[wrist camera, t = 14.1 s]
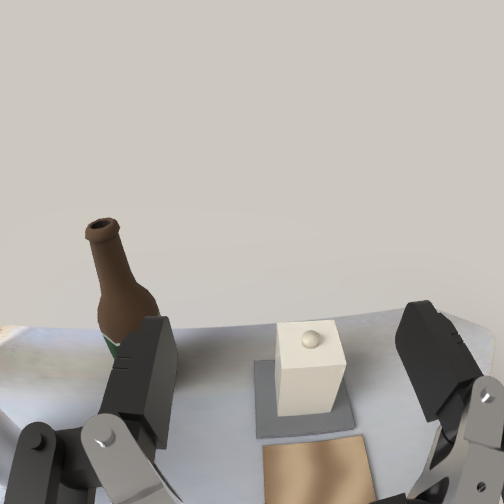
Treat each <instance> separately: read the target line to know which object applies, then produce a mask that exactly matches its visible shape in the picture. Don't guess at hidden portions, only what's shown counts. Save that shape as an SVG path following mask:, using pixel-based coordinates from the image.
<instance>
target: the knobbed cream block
mask: <svg viewBox="0 0 504 504" xmlns="http://www.w3.org/2000/svg"><path fill="white" fill-rule="evenodd" d="M346 364H347V363H346V360H345V356H344V352H343V349H342V345H341V342H340V338H339V335H338V331H337V328H336V325H335V321H334V320H321V321H303V322H282V323H277V335H276V358H275V387H276V400H277V414H278V417H279V416H295V415H308V414H318V413H328V412H331V409H332V406H333V403H334V401H335V398H336V395H337V392H338V389H339V386H340V383H341V380H342V377H343V374H344V371H345V368H346Z"/></svg>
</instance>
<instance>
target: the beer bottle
mask: <svg viewBox="0 0 504 504" xmlns="http://www.w3.org/2000/svg"><path fill="white" fill-rule="evenodd" d="M119 229H120V226H119V224H118V223H117V221H116V220H115V219H112V218H103V219H98V220H96V221H94V222H92V223H90V224H89V225H88V227H87V228H86V231H85V238H86V239H87V240H89V241H90V246H91V250H92V255H93V258H94V262H95V267H96V271H97V274H98V278H99V282H100V288H101V298H100V302H99V306H98V323H99V326H100V329H101V332H102V334H103V337H104V339H105V341H106V343H107V345H108V347H109V349H110V351H111V353H112V356H113V358H114V360H115V359H116V354H117V351H118V348H119V345H120V343H121V342H122V341H123V339H124V338H125V337H126V336H127V335H128V333H129V332H139V330H140V326H141V323H142V320H143V318H144V317H145V316H160V312H159V309H158V306H157V304H156V301H155V299H154V297H153V296H152V295H151V294H150V292H149V291H148V290H147V289H145V288H144V287H142V286H141V285H140V284H138V283H137V282H136V280H135V278H134V276H133V274H132V272H131V270H130V267H129V264H128V261H127V258H126V255H125V252H124V249H123V246H122V243H121V240H120V236H119V233H118V232H119Z"/></svg>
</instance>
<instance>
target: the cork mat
mask: <svg viewBox="0 0 504 504" xmlns="http://www.w3.org/2000/svg"><path fill="white" fill-rule="evenodd" d="M263 467H264V490H265V504H369V503H371V502H374V501H376V497H375V492H374V487H373V482H372V478H371V473H370V468H369V464H368V459H367V455H366V450H365V446H364V441H363V437H362V435H360V436H354V437H348V438H342V439H335V440H327V441H319V442H310V443H300V444H287V445H271V446H263Z"/></svg>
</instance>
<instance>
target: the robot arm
mask: <svg viewBox="0 0 504 504" xmlns="http://www.w3.org/2000/svg"><path fill="white" fill-rule="evenodd" d="M395 344H396V349H397V351H398V353H399V356H400V358H401V360H402V362H403V365H404V367H405V369H406V371H407V374H408V376H409V378H410V381H411V383H412V386H413V388H414V390H415V393H416V395H417V398H418V400H419V403H420V405H421V408H422V410H423V413H424V415H425V418H426V420H427V423H428V422H431V421H435V420H438V419H439V421H440V425H439V427H438V429H437V432H436V435H435V438H434V441H433V444H432V447H431V450H430V453H429V456H428V459H427V462H426V465H425V467H424V470H423V472H422V474H421V476H420V477H419V479H418V480H417V481H416V483H415V484H414V486H413V487H412V489H411V491H410V493H409V495H408V497H407V498H406V495H405V493H402V494H399V495H396V496H392V497H389V498H385V499H382V500H378V501H374V502H371V503H369V504H499V499H500V496H501V495H502V499H503V503H504V387H503V385H502V384H501V383H500V382H499V381H498V380H497V379H495V378H493V377H491V376H484V375H483V374H482V372H481V370H480V368H479V367H478V365H477V363H476V361H475V360H474V358H473V356H472V355H471V353H470V351H469V350H468V348H467V346H466V345H465V343H463V340H462V338H461V336H460V335H458V332H457V330H456V328H455V327H454V325H453V324H452V322H451V321H450V320H449V319H447V318H446V317H445V316H444V315H443V314H441V313H438V312H437V311H436V309H435V308H434V306H433V305H432V303H431V302H430V301H428V300H424V301H417V302H410V303H408V304H407V306H406V308H405V310H404V313H403V316H402V319H401V321H400V324H399V327H398V329H397V332H396V336H395ZM177 364H178V354H177V347H176V343H175V340H174V336H173V333H172V329H171V326H170V322H169V319H168V317H167V316H145V317H144V318H143V320H142V323H141V326H140V330H139V332H129V333H128V335H127V336H126V337H125V338H124V339H123V341H122V342H121V343H120V345H119V348H118V351H117V354H116V359H115V361H114V364H113V367H112V368H113V370H111V373H110V377H109V380H108V383H107V387H106V390H105V394H104V397H103V401H102V404H101V408H100V410H99V412H98V414H97V415H96V416H94V417H92V418H90V419H89V420H88V421H87V422H86V423H85V425H84V426H83V427H80V428H74V429H66V430H58V431H54V430H53V429H52V428H51V427H50V426H49V425H47V424H45V423H43V422H33V423H31V424H29V425H27V426H26V427H25V428H24V429H23V430H21V429H20V428H19V427H18V426H17V425H16V424H15V423H14V422H13V421H12V420H11V419H10V418H9V417H8V416H7V415H6V414H5V413H4V412H3V411H2V410H1V409H0V486H1V487H2V488H4V489H6V495H5V500H4V504H94V502H95V492H96V487H104V489H105V491H106V493H107V495H108V496H109V498H110V500H111V502H112V504H185V502H184V501H183V500H182V499H181V497H180V496H179V495H178V493H177V492H176V491H175V489H174V488H173V487H172V485H171V484H170V483H169V481H168V480H167V479H166V477H165V476H164V474H163V473H162V471H161V470H160V469H159V467H158V466H157V464H156V463H155V461H154V459H155V451H156V449H165V450H166V447H167V438H168V430H169V422H170V414H171V406H172V399H173V392H174V385H175V378H176V371H177Z"/></svg>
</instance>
